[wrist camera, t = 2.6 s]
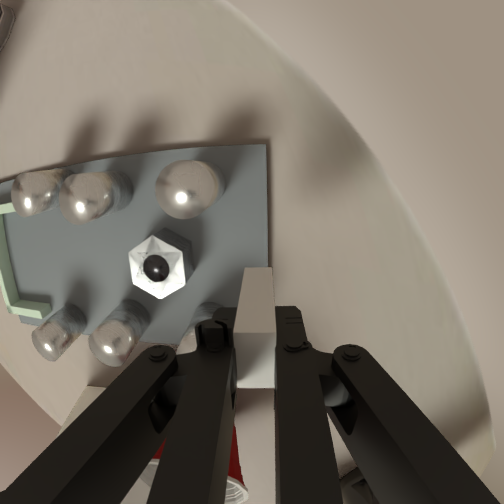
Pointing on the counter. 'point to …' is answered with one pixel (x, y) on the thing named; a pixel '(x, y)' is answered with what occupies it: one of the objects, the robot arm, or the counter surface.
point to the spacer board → (137, 231)
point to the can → (5, 24)
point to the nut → (162, 263)
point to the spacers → (99, 205)
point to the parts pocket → (4, 277)
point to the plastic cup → (235, 484)
